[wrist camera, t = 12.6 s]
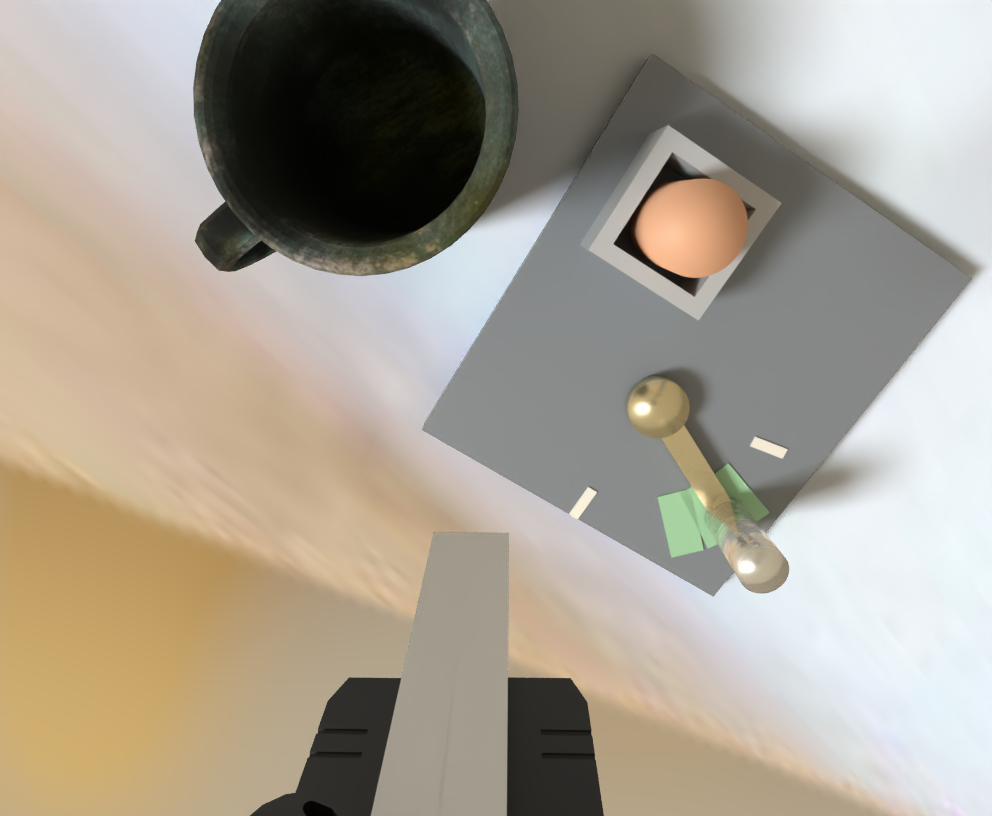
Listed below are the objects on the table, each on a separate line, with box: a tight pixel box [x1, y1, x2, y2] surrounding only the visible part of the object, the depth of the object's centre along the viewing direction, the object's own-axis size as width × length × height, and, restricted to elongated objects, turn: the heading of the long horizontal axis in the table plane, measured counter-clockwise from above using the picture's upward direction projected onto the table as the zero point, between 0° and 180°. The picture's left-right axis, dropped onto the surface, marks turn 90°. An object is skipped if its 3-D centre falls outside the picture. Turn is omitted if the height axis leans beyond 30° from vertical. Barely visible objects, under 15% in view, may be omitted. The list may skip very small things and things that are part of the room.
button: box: [630, 179, 748, 278], centre depth 31 cm, size 4×4×5 cm
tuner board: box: [422, 54, 972, 596], centre depth 35 cm, size 22×20×5 cm
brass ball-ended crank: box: [626, 376, 789, 593], centre depth 35 cm, size 11×3×6 cm, turn 34°
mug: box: [193, 0, 518, 276], centre depth 29 cm, size 11×15×12 cm
